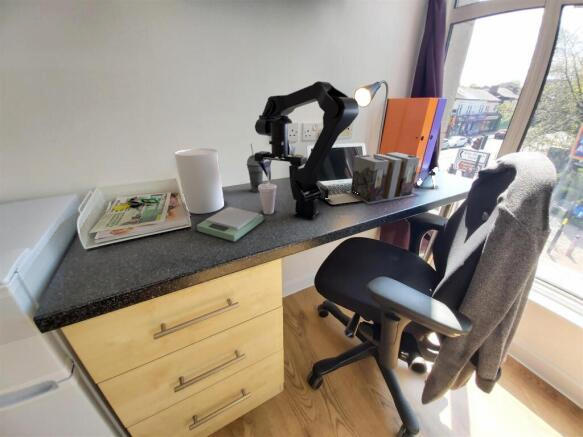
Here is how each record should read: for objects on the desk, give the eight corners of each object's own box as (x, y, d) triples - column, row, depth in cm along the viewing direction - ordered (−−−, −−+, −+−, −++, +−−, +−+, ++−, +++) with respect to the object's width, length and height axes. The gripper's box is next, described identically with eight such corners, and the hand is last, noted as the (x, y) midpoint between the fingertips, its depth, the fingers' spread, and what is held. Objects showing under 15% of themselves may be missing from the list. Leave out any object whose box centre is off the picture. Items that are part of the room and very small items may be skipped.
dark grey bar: (311, 180, 103) (326, 190, 90) (317, 179, 104) (333, 189, 91) (310, 191, 105) (325, 202, 92) (316, 190, 106) (332, 201, 93)
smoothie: (270, 217, 80) (268, 177, 74) (255, 213, 83) (253, 174, 77) (281, 210, 85) (280, 172, 79) (266, 207, 88) (265, 170, 82)
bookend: (416, 195, 100) (425, 156, 93) (368, 203, 91) (375, 161, 84) (389, 184, 113) (395, 150, 106) (345, 191, 104) (349, 154, 97)
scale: (263, 220, 78) (263, 212, 77) (234, 241, 66) (233, 233, 64) (229, 212, 83) (229, 205, 82) (197, 230, 71) (195, 222, 70)
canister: (188, 201, 93) (178, 149, 84) (224, 198, 96) (217, 147, 87) (183, 215, 81) (170, 156, 72) (224, 211, 84) (216, 154, 75)
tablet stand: (418, 182, 116) (422, 165, 113) (436, 185, 112) (441, 167, 109) (415, 186, 110) (419, 169, 106) (434, 190, 106) (439, 171, 102)
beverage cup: (262, 193, 101) (259, 145, 92) (246, 192, 103) (242, 144, 94) (267, 188, 108) (265, 142, 99) (252, 187, 109) (248, 142, 100)
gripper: (313, 136, 83) (311, 179, 90) (268, 133, 91) (269, 173, 97) (300, 140, 74) (299, 187, 81) (251, 137, 82) (254, 180, 88)
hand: (280, 181), depth 87 cm, fingers open, 9 cm apart
